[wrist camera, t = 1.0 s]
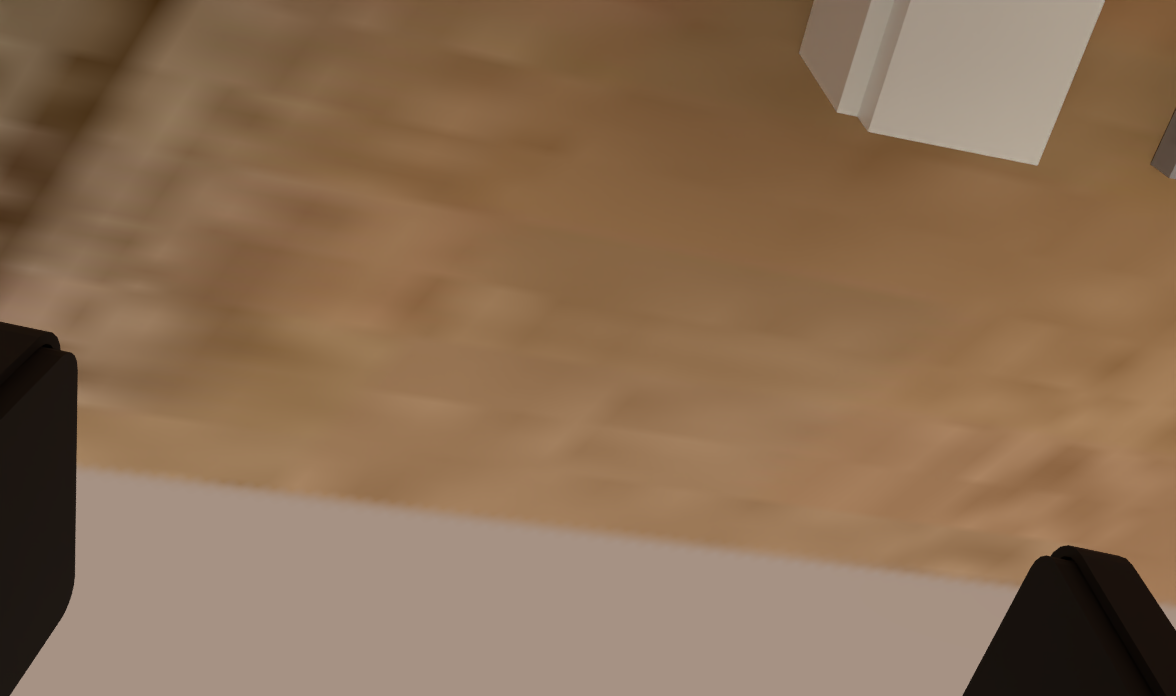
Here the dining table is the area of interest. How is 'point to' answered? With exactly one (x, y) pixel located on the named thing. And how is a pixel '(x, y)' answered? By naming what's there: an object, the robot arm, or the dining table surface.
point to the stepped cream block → (951, 68)
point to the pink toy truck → (1167, 151)
